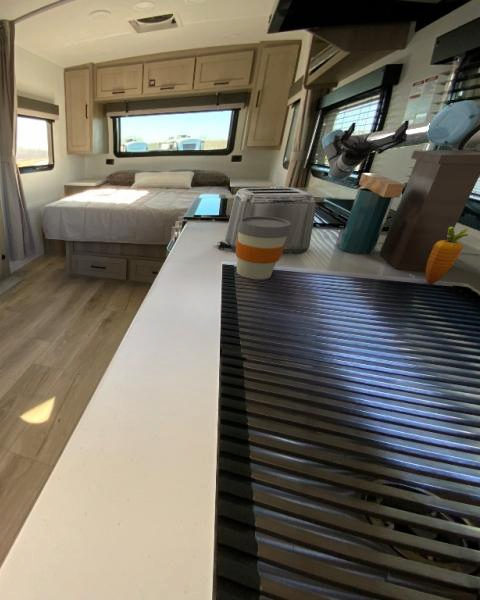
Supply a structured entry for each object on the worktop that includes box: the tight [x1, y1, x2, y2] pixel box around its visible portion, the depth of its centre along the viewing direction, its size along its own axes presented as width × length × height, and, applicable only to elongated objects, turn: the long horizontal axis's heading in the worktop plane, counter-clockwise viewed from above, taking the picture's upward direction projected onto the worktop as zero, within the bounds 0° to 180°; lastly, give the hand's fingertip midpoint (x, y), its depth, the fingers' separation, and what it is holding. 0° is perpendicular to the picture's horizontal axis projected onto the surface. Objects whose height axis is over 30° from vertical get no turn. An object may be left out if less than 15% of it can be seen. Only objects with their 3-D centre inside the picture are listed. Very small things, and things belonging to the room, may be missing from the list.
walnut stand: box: [379, 149, 480, 273], centre depth 91 cm, size 16×10×30 cm, turn 156°
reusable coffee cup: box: [235, 216, 291, 280], centre depth 92 cm, size 13×13×15 cm
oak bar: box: [358, 172, 406, 199], centre depth 99 cm, size 24×4×4 cm, turn 156°
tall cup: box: [338, 187, 395, 256], centre depth 104 cm, size 9×9×19 cm
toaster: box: [216, 187, 320, 255], centre depth 110 cm, size 17×30×19 cm, turn 81°
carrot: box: [425, 227, 469, 285], centre depth 81 cm, size 5×5×15 cm
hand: (379, 125), depth 106 cm, fingers open, 13 cm apart
